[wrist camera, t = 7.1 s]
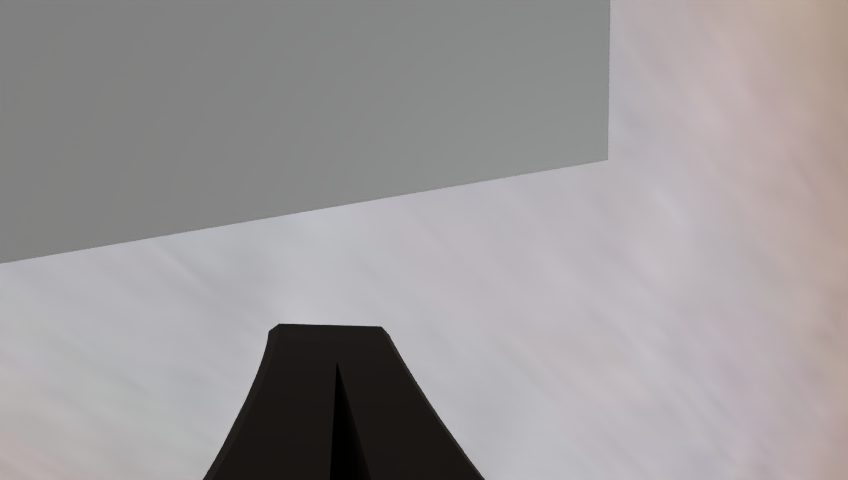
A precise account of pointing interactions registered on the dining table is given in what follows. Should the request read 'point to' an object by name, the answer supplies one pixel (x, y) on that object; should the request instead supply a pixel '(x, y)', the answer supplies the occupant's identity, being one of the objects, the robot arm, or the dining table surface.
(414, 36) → the grey flat slab
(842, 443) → the dining table surface
